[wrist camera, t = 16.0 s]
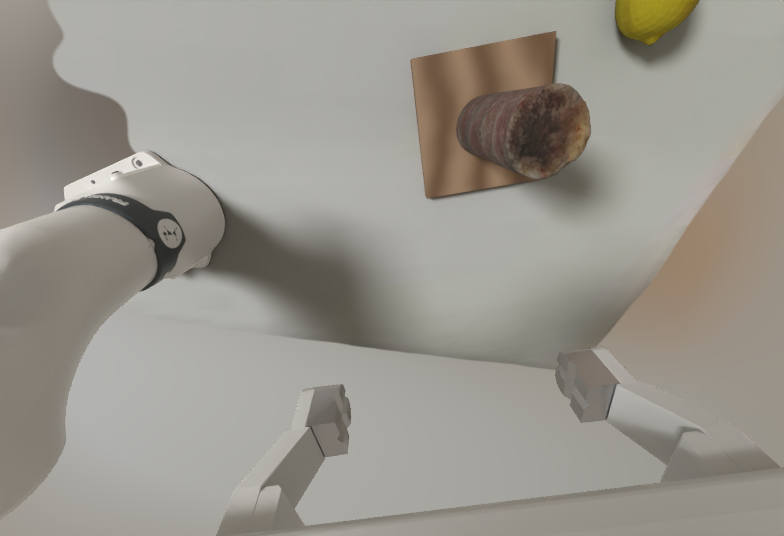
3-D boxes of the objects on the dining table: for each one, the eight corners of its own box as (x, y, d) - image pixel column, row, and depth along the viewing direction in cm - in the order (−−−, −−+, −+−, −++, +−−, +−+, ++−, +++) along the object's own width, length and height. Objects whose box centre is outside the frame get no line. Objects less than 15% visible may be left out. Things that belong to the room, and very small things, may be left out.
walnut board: (425, 196, 48) (426, 198, 46) (410, 60, 39) (411, 58, 38) (540, 176, 47) (544, 178, 45) (550, 33, 38) (556, 30, 37)
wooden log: (447, 106, 40) (499, 105, 23) (500, 83, 39) (598, 64, 22) (461, 161, 44) (516, 198, 26) (510, 142, 43) (602, 166, 25)
